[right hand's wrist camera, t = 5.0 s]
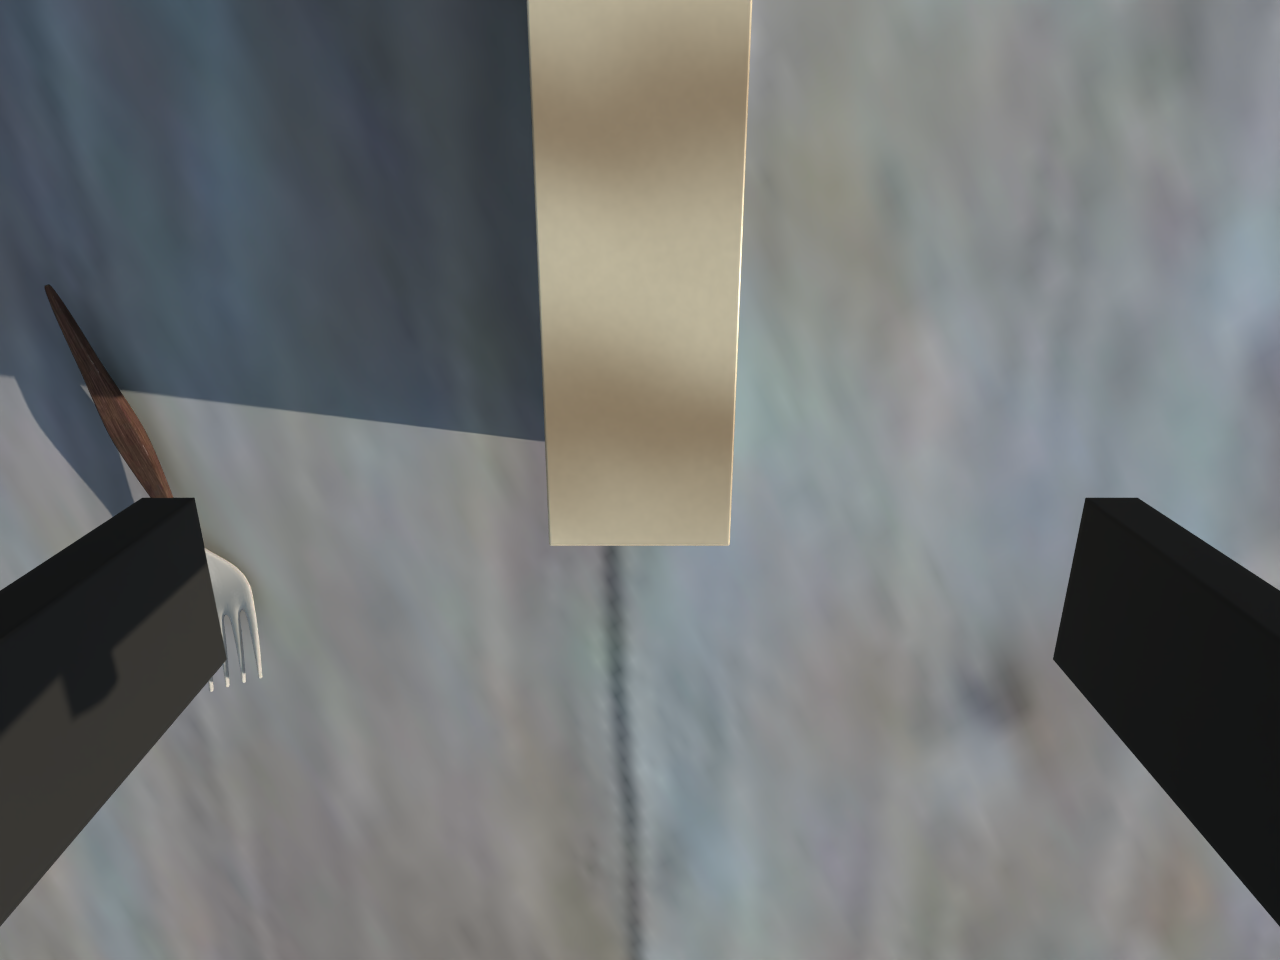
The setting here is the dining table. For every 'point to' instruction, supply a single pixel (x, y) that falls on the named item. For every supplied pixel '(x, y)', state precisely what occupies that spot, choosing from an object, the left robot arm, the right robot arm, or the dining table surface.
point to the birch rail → (639, 262)
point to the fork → (155, 478)
